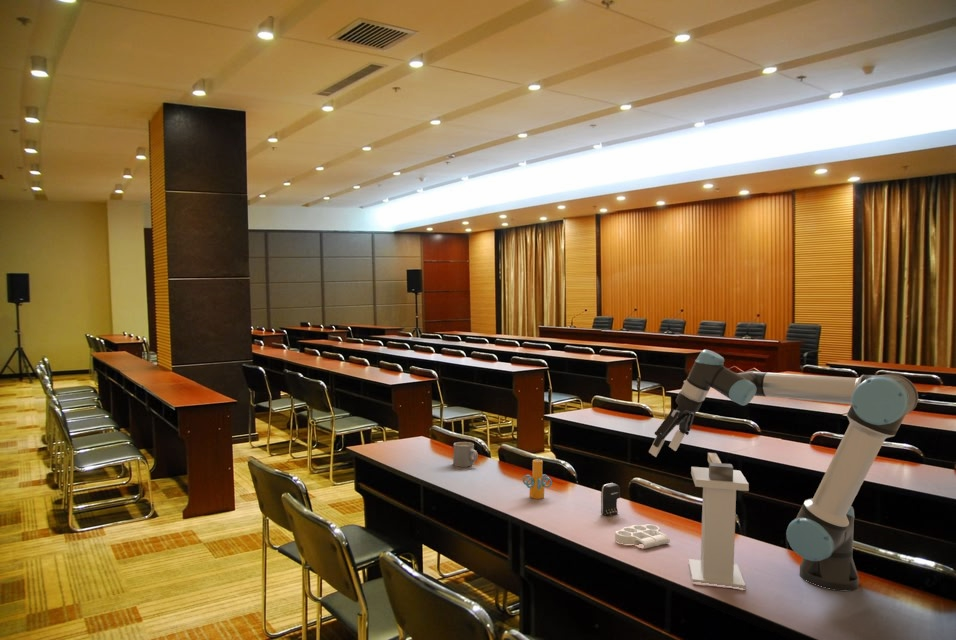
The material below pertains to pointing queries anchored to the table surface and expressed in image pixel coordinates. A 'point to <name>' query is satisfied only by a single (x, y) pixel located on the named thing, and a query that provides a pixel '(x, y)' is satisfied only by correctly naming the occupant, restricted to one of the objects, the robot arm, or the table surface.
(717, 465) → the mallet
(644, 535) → the white compartment tray
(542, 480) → the post with side rings
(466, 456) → the coffee mug
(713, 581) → the stand
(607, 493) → the battery
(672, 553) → the table surface
